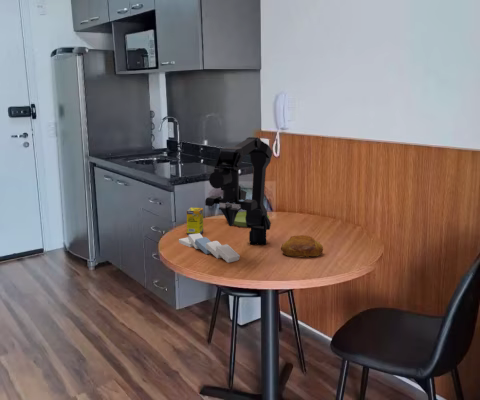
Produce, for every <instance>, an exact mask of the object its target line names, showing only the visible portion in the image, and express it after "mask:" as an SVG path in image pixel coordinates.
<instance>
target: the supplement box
mask: <svg viewBox="0 0 480 400" xmlns="http://www.w3.org/2000/svg"><path fill="white" fill-rule="evenodd" d="M198 233H200V234H201V235H202V234H203V233H204V208H203V207H189V208H188V209H187V210H186V235H187V236H189V234H198Z"/></svg>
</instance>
